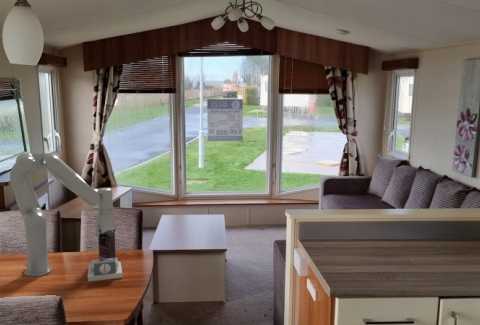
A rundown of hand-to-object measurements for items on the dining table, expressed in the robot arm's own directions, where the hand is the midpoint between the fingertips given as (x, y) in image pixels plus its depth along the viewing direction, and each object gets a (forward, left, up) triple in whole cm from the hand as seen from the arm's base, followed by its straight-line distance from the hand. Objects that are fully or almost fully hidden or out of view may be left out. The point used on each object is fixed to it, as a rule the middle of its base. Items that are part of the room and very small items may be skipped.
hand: (106, 243), depth 236 cm
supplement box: (0, 0, -10) cm, 10 cm away
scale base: (+13, -14, -9) cm, 21 cm away
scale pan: (+12, -13, -5) cm, 18 cm away
